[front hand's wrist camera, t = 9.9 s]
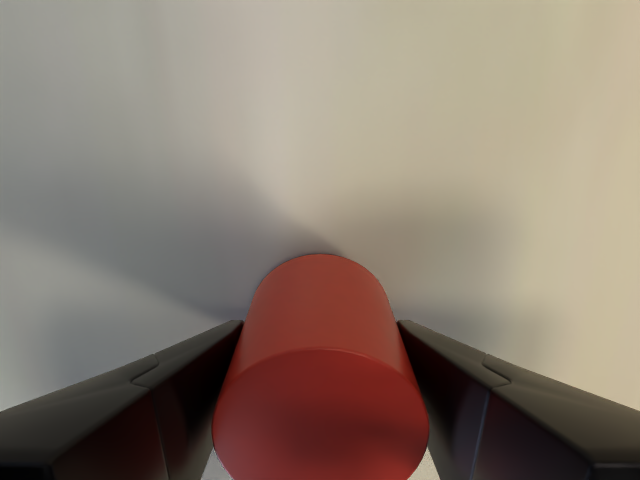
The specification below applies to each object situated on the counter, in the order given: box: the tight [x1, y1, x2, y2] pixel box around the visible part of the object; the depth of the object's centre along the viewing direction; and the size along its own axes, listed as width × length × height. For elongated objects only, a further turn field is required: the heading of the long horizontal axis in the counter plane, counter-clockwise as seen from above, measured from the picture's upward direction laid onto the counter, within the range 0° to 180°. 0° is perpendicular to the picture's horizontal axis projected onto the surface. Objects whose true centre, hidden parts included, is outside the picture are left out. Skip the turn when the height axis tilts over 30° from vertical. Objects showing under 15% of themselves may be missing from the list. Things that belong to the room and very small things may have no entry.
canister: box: [211, 254, 430, 480], centre depth 10 cm, size 5×5×5 cm
